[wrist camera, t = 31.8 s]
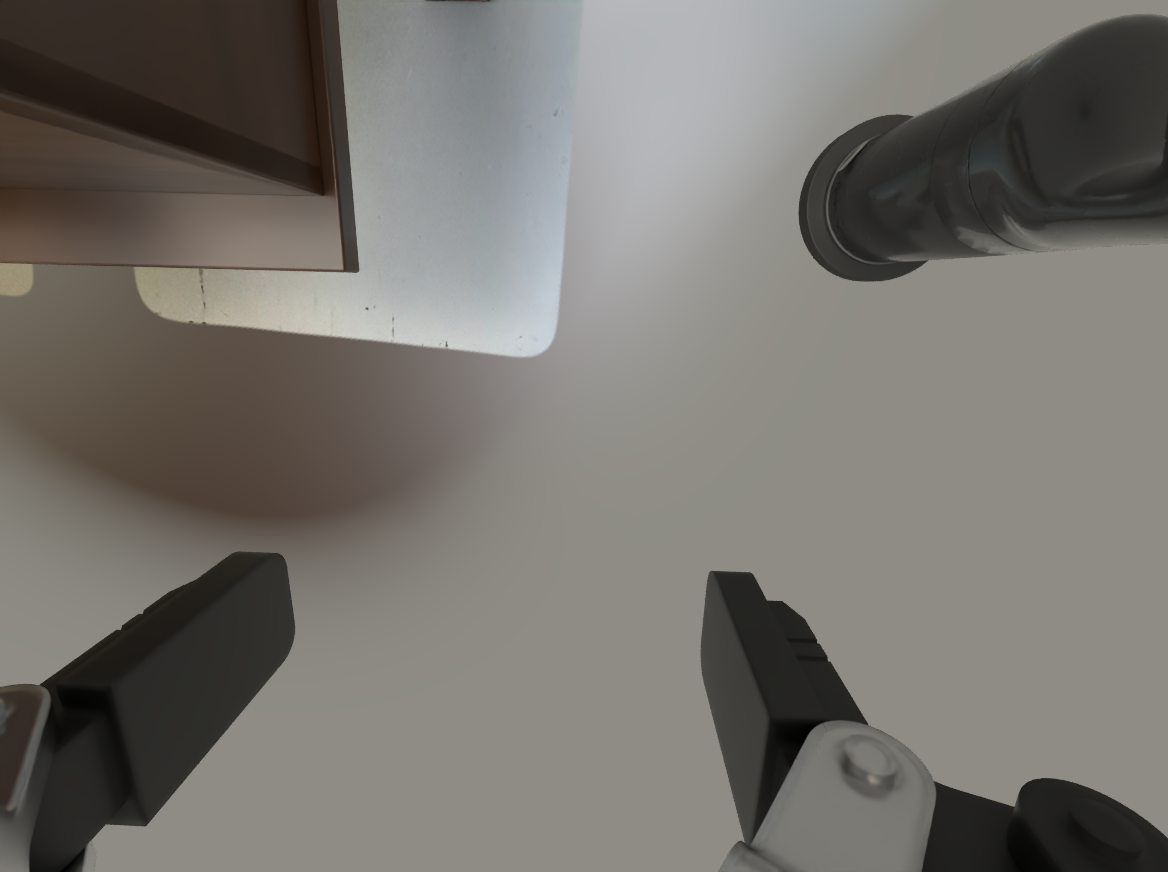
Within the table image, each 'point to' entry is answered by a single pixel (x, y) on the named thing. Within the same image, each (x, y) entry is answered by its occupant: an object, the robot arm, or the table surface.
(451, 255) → the table surface
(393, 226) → the table surface
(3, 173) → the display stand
